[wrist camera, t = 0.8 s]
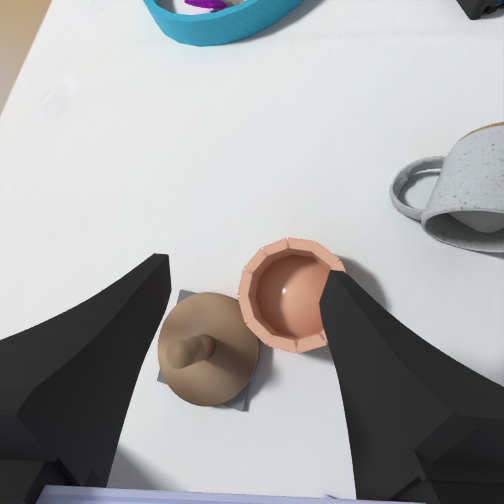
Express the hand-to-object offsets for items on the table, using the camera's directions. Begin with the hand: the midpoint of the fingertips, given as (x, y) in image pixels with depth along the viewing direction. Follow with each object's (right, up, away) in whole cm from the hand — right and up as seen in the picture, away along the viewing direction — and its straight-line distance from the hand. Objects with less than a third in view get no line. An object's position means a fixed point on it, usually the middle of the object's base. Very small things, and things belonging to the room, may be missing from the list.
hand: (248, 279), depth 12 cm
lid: (-4, -9, +16) cm, 18 cm away
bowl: (+5, -3, +15) cm, 16 cm away
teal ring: (-2, +46, +29) cm, 54 cm away
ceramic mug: (+19, +6, +13) cm, 24 cm away
